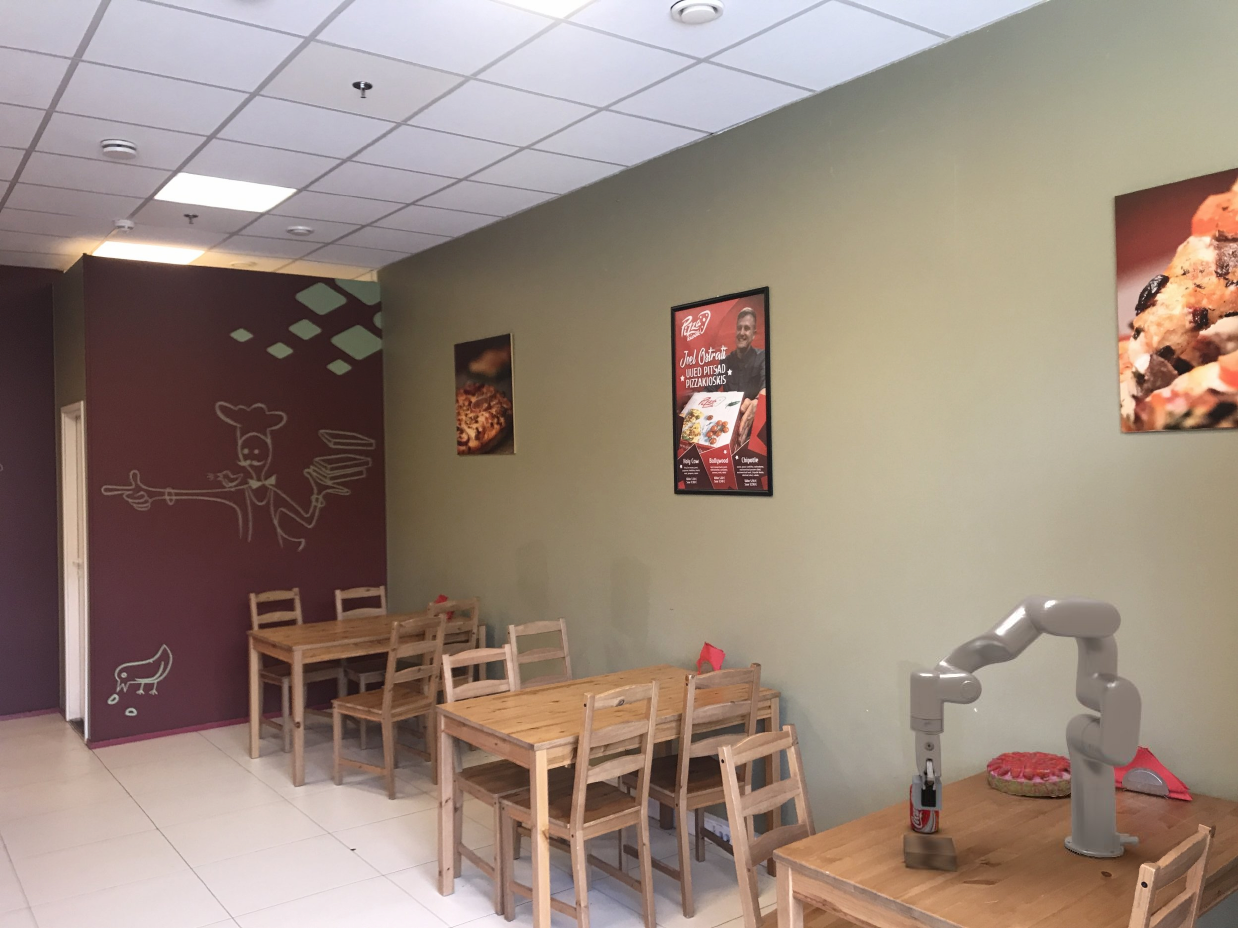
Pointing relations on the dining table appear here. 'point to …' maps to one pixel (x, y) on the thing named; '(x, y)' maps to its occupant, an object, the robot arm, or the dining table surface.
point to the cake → (1030, 774)
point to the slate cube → (917, 793)
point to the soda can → (923, 818)
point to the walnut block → (929, 853)
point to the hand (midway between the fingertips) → (926, 800)
